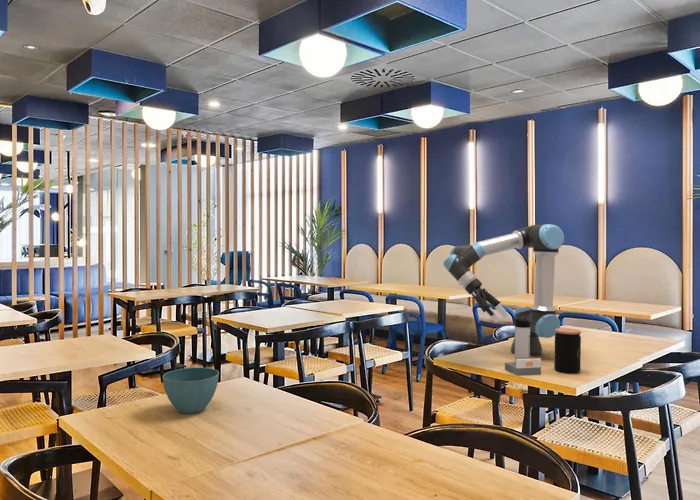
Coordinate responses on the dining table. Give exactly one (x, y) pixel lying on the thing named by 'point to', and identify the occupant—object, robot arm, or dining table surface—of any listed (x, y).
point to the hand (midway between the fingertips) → (502, 318)
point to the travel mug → (522, 339)
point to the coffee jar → (567, 350)
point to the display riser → (524, 366)
